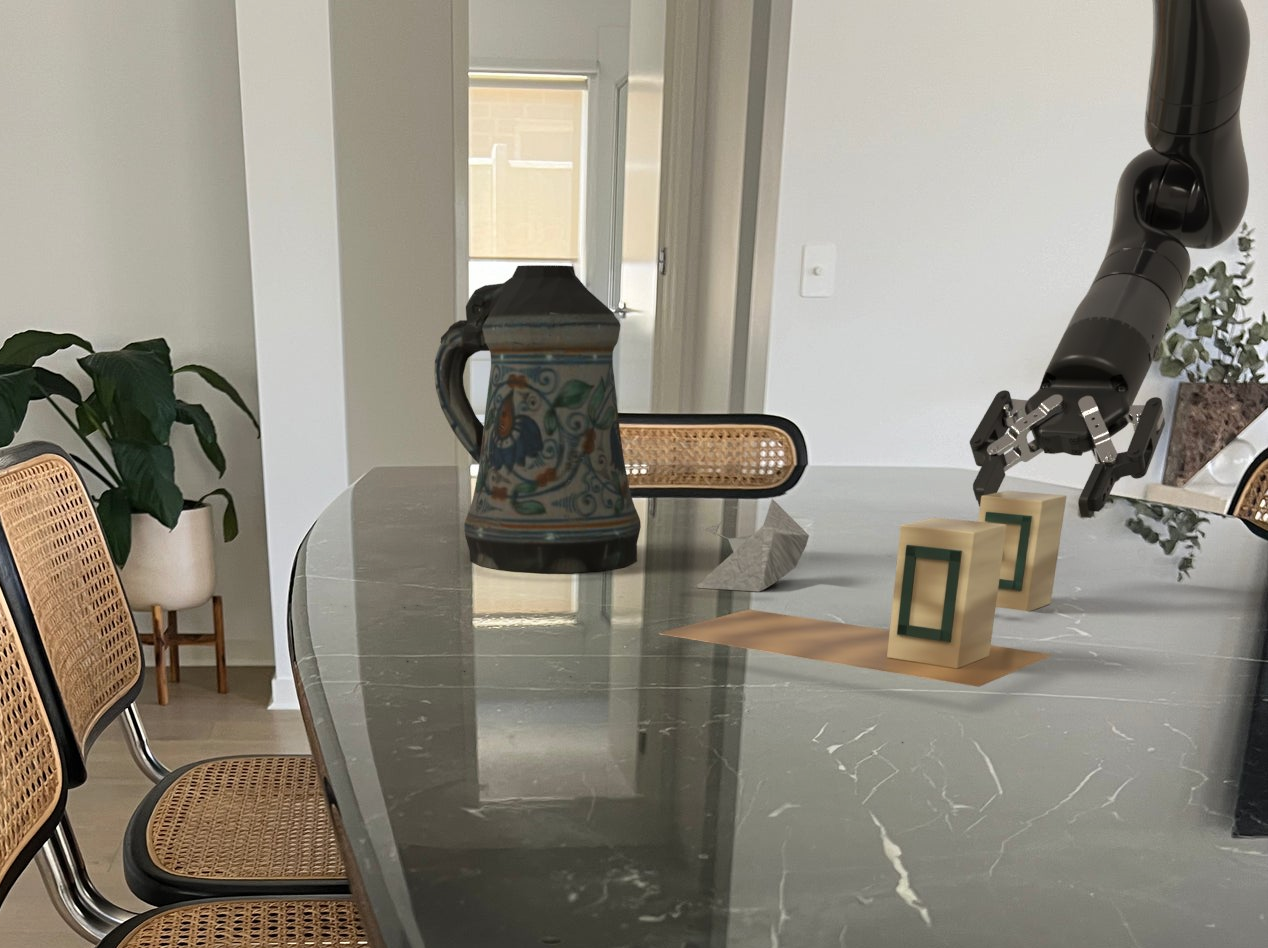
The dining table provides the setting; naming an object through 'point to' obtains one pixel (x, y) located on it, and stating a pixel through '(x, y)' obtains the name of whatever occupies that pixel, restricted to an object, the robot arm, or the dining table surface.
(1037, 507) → the letter G
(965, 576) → the letter O
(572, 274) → the beer stein
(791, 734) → the dining table surface
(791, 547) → the paper boat
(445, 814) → the dining table surface
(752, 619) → the word mat
